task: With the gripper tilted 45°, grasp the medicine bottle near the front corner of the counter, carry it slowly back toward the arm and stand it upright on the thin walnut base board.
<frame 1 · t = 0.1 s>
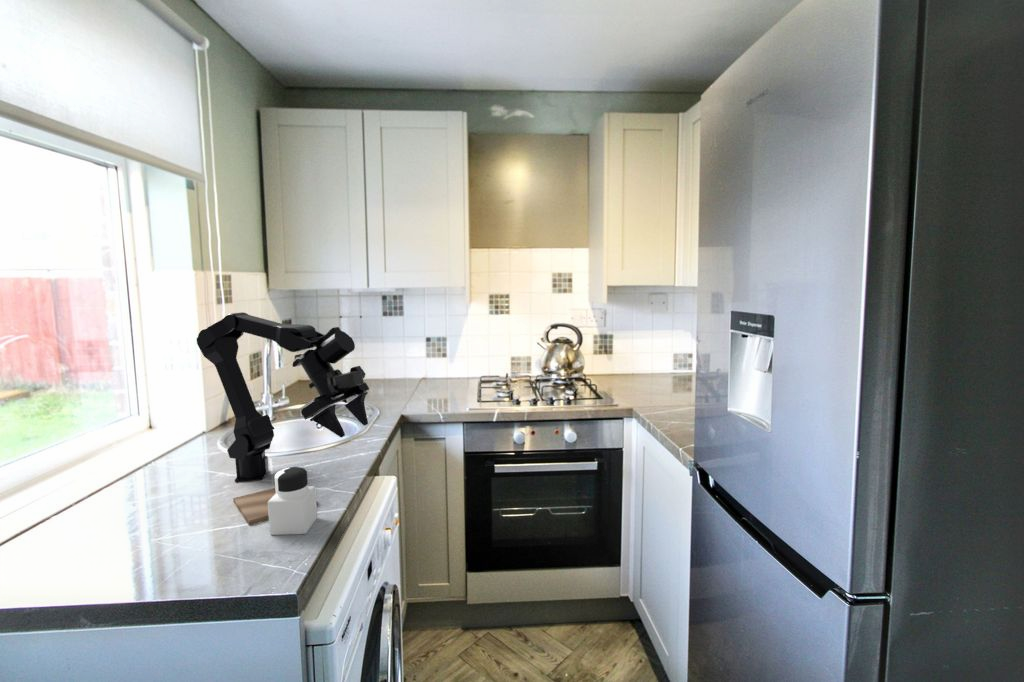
hand: (355, 430, 121), 15 cm above the countertop, tool tilted 35°, fingers open, 9 cm apart
walnut base: (275, 503, 117), on the countertop
medicine bottle: (294, 527, 106), on the countertop
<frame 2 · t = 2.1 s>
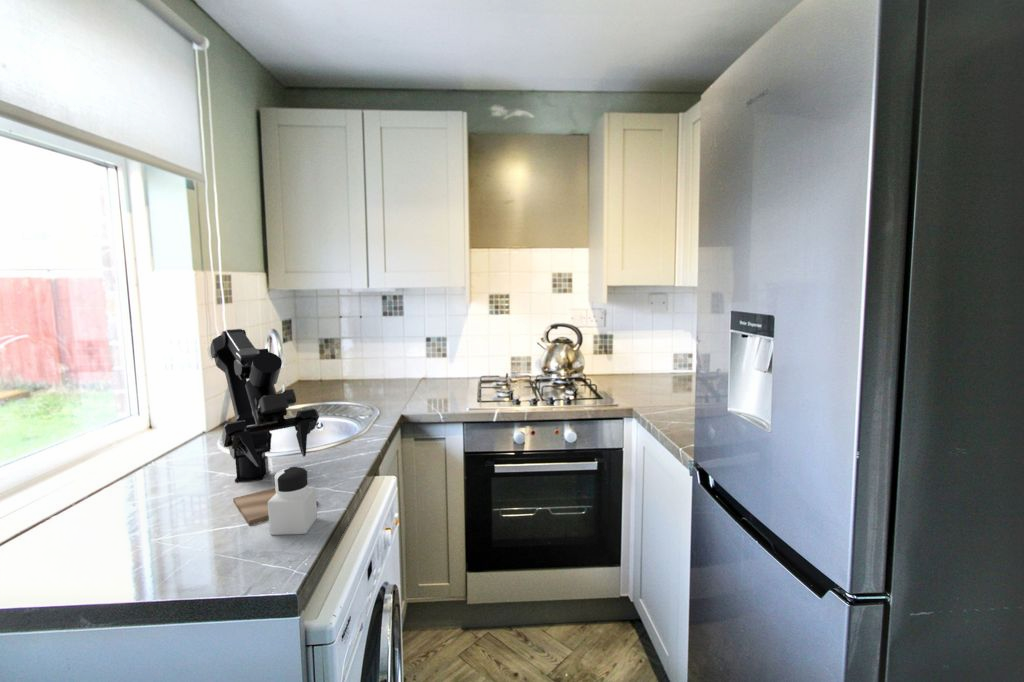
hand: (282, 460, 109), 12 cm above the countertop, tool tilted 45°, fingers open, 9 cm apart
nothing on the countertop moved.
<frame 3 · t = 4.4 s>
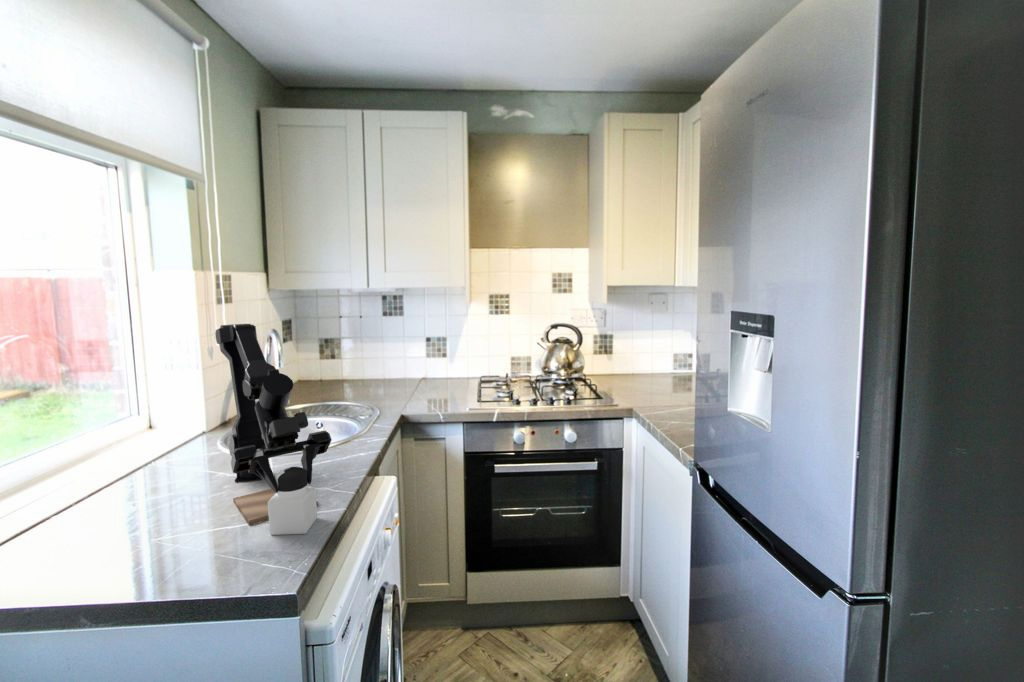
hand: (293, 487, 104), 9 cm above the countertop, tool tilted 45°, fingers closed on medicine bottle, 6 cm apart
medicine bottle: (294, 527, 106), on the countertop, touching gripper
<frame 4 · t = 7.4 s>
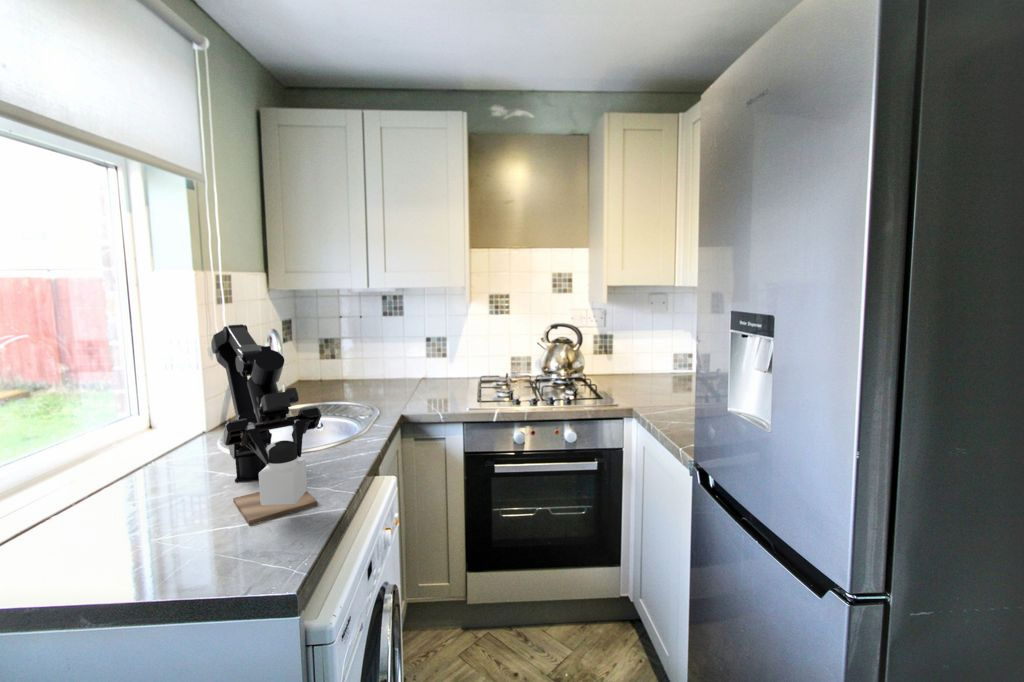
hand: (284, 459, 108), 13 cm above the countertop, tool tilted 45°, fingers closed on medicine bottle, 6 cm apart
medicine bottle: (284, 498, 110), point 4 cm above the countertop, touching gripper
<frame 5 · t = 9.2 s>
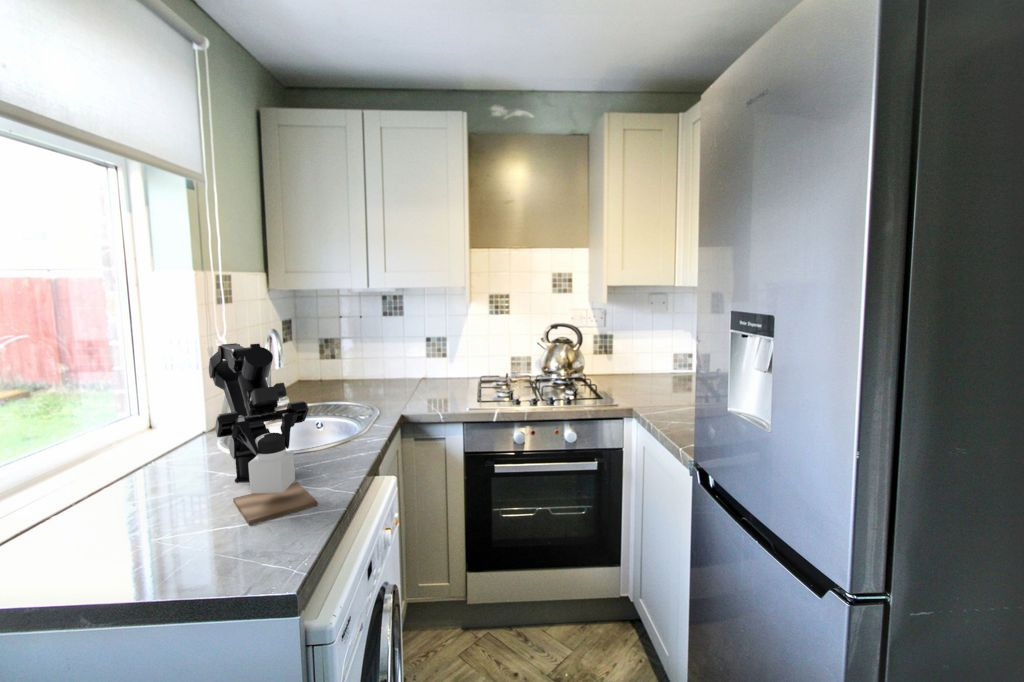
hand: (272, 450, 114), 13 cm above the countertop, tool tilted 45°, fingers closed on medicine bottle, 6 cm apart
medicine bottle: (273, 487, 116), point 4 cm above the countertop, touching gripper
when the fingers open (10 cm above the countertop, at t = 10.7 s): medicine bottle stays where it is, resting on walnut base.
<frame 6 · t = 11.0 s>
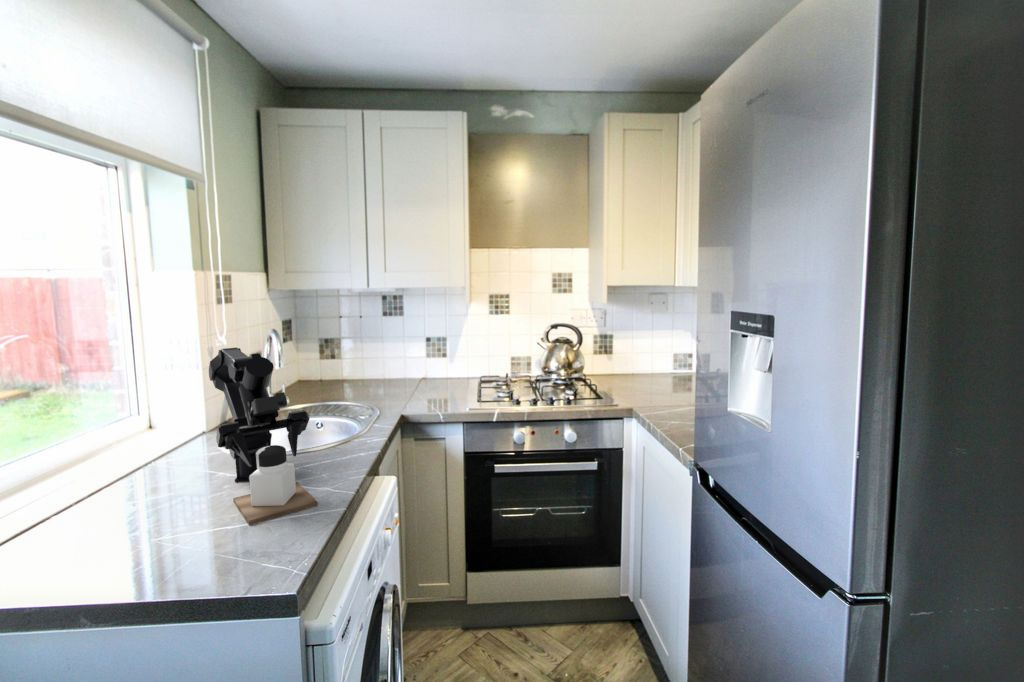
hand: (273, 460, 114), 11 cm above the countertop, tool tilted 45°, fingers open, 9 cm apart
medicine bottle: (274, 500, 117), point 1 cm above the countertop, touching walnut base
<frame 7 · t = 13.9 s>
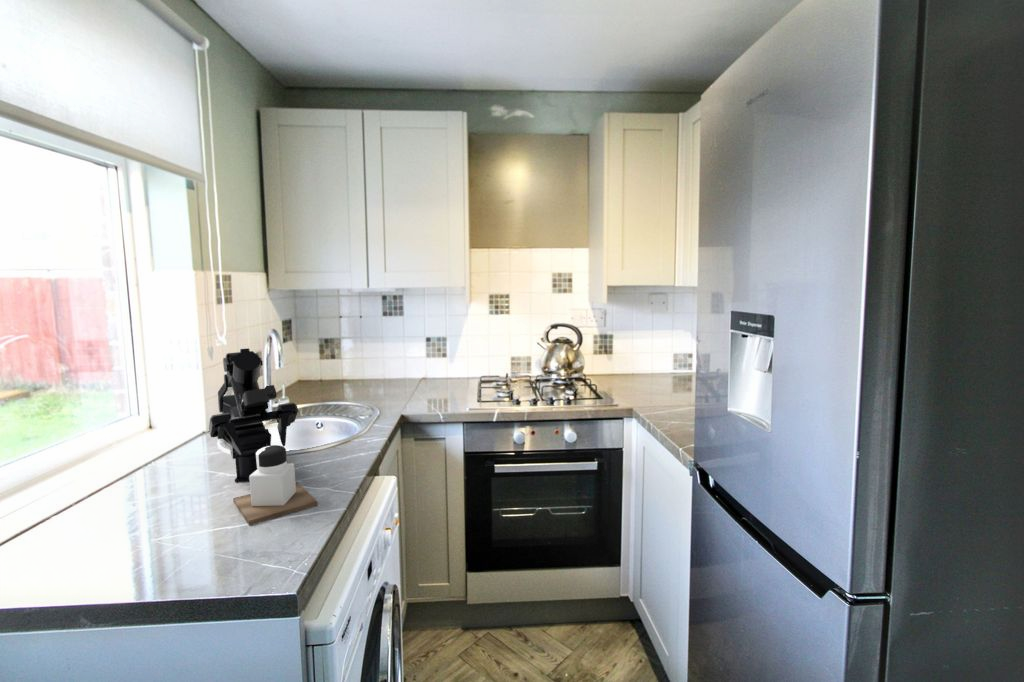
hand: (263, 449, 120), 11 cm above the countertop, tool tilted 45°, fingers open, 9 cm apart
nothing on the countertop moved.
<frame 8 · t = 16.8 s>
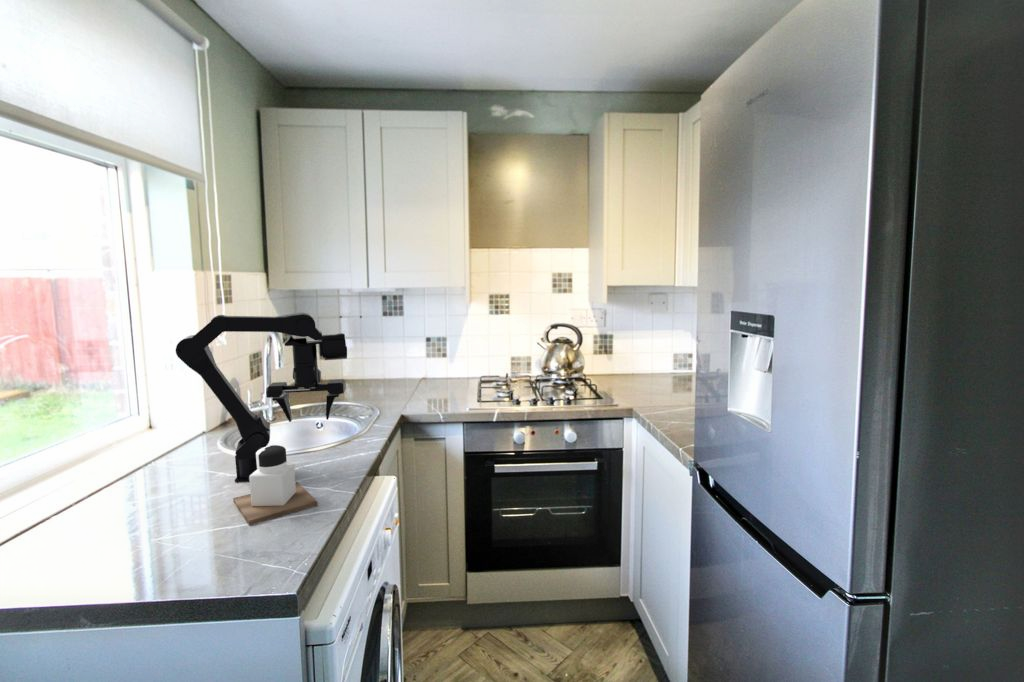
hand: (309, 420, 136), 13 cm above the countertop, tool pointing down, fingers open, 9 cm apart
nothing on the countertop moved.
at the end: medicine bottle inside the target area on the walnut base (0.2 cm from its centre), point 0.8 cm above the walnut base's base; medicine bottle tilted 0°; the gripper is holding nothing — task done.
